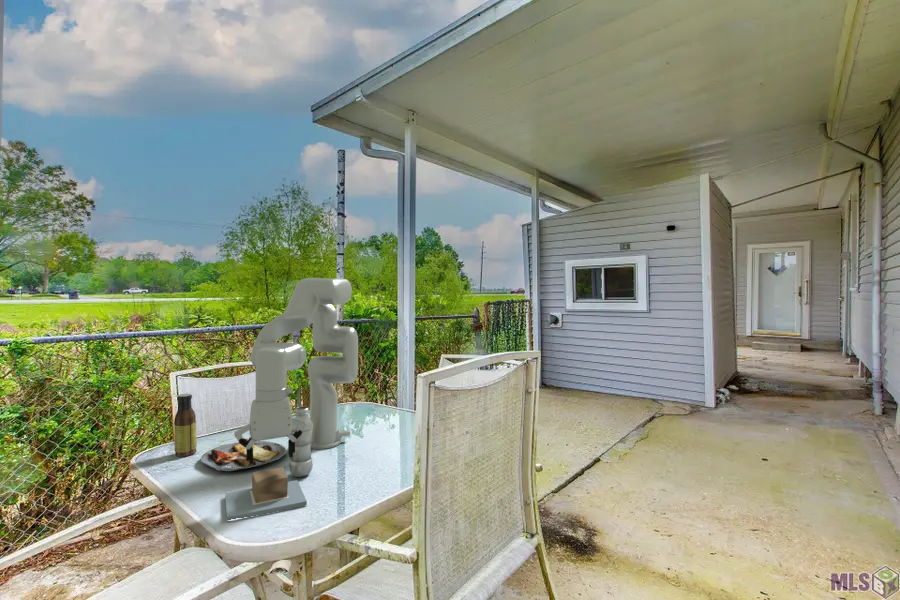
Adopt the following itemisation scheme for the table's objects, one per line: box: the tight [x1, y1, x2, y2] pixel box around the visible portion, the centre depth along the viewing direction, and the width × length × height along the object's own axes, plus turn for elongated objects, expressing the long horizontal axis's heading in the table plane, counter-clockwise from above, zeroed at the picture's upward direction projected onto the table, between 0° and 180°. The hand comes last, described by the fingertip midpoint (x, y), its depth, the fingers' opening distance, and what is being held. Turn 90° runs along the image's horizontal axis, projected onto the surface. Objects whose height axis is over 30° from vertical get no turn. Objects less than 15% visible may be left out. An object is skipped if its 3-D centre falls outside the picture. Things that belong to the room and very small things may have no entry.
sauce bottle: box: [173, 393, 198, 458], centre depth 142 cm, size 7×6×20 cm
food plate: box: [199, 438, 287, 472], centre depth 139 cm, size 25×23×4 cm
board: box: [224, 479, 308, 521], centre depth 110 cm, size 18×14×1 cm
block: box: [251, 466, 289, 503], centre depth 112 cm, size 8×8×5 cm
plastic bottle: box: [288, 405, 314, 478], centre depth 127 cm, size 6×7×20 cm
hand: (271, 458), depth 113 cm, fingers open, 9 cm apart
